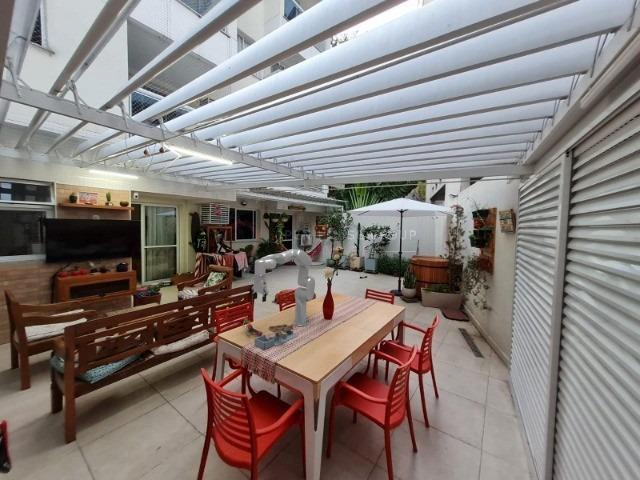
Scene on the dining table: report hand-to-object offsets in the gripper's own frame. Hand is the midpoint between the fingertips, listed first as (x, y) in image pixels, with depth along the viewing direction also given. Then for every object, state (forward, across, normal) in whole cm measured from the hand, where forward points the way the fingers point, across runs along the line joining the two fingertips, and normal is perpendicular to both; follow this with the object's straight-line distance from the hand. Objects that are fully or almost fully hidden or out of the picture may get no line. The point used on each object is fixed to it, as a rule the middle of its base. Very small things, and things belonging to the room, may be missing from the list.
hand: (259, 300), depth 181 cm
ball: (+23, -8, -22) cm, 33 cm away
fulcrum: (+31, -9, -14) cm, 35 cm away
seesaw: (+24, -12, -14) cm, 31 cm away
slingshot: (+31, +13, -3) cm, 34 cm away
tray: (+31, -7, +1) cm, 32 cm away
